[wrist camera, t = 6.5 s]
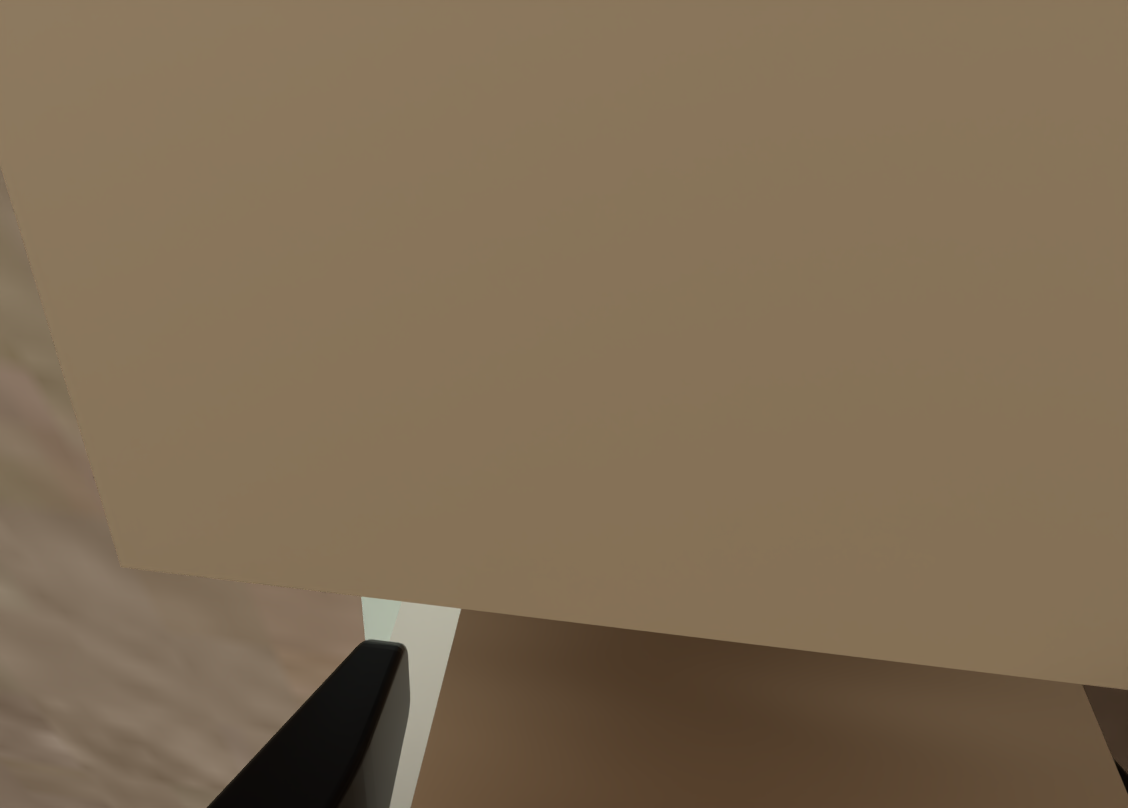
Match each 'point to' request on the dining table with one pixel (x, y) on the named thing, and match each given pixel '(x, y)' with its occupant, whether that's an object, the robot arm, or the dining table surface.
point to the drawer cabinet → (601, 312)
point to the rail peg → (743, 727)
